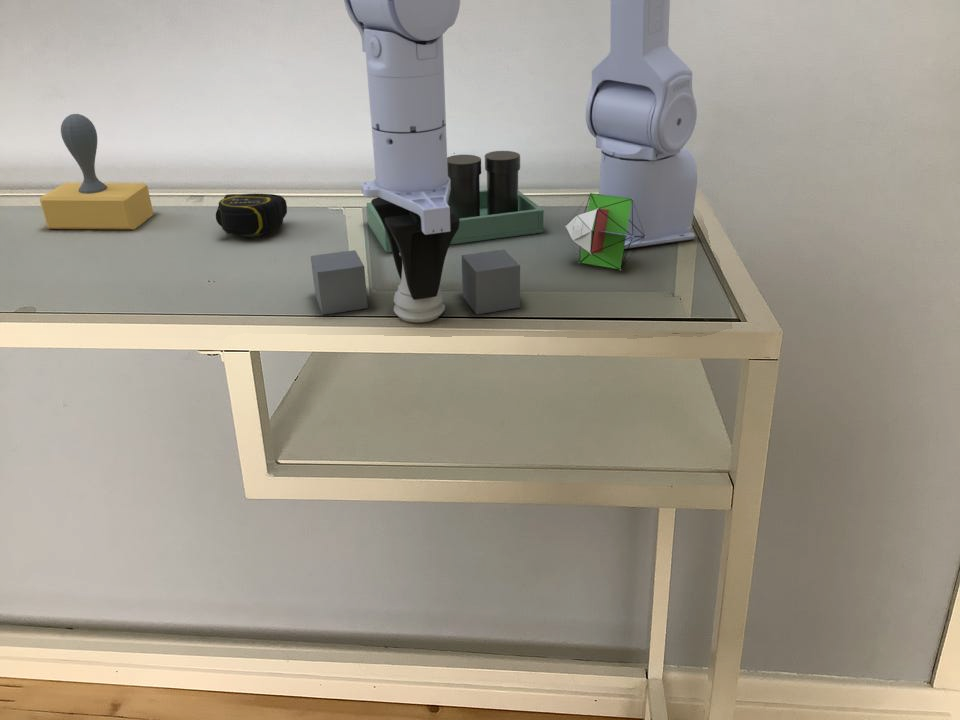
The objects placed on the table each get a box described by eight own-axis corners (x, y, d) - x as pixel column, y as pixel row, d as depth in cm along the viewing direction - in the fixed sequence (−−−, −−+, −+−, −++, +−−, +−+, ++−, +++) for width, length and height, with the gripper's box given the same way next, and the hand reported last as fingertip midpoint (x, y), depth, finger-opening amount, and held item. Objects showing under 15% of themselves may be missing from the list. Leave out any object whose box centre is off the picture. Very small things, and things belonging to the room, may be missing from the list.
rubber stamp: (46, 229, 90) (14, 120, 84) (72, 213, 95) (44, 108, 89) (133, 230, 90) (107, 120, 84) (154, 213, 95) (131, 108, 89)
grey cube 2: (504, 290, 74) (504, 249, 72) (519, 307, 71) (520, 265, 69) (462, 296, 73) (461, 254, 71) (476, 314, 70) (475, 271, 68)
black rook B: (475, 215, 91) (474, 153, 87) (486, 226, 88) (485, 161, 84) (443, 219, 90) (440, 156, 86) (453, 230, 87) (450, 165, 83)
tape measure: (291, 221, 92) (286, 189, 90) (276, 242, 86) (271, 208, 84) (231, 221, 92) (225, 189, 90) (212, 243, 86) (206, 208, 84)
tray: (513, 207, 95) (513, 186, 94) (543, 232, 87) (543, 210, 86) (368, 224, 90) (366, 202, 89) (386, 253, 82) (384, 229, 81)
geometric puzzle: (591, 217, 84) (574, 171, 77) (656, 226, 81) (645, 179, 74) (569, 277, 82) (550, 236, 75) (635, 289, 79) (621, 247, 72)
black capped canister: (512, 210, 92) (512, 149, 89) (524, 221, 89) (525, 157, 85) (480, 214, 91) (480, 152, 88) (492, 225, 88) (491, 161, 84)
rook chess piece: (386, 321, 69) (379, 231, 65) (403, 300, 72) (397, 213, 68) (437, 326, 68) (433, 235, 64) (451, 304, 71) (448, 217, 68)
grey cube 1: (359, 290, 74) (355, 249, 72) (368, 308, 71) (364, 265, 69) (315, 297, 73) (310, 255, 71) (322, 315, 70) (317, 272, 68)
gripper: (340, 110, 67) (355, 263, 74) (377, 152, 55) (391, 330, 62) (423, 103, 69) (430, 253, 76) (476, 142, 57) (479, 316, 64)
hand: (418, 287), depth 69 cm, fingers closed on rook chess piece, 3 cm apart
